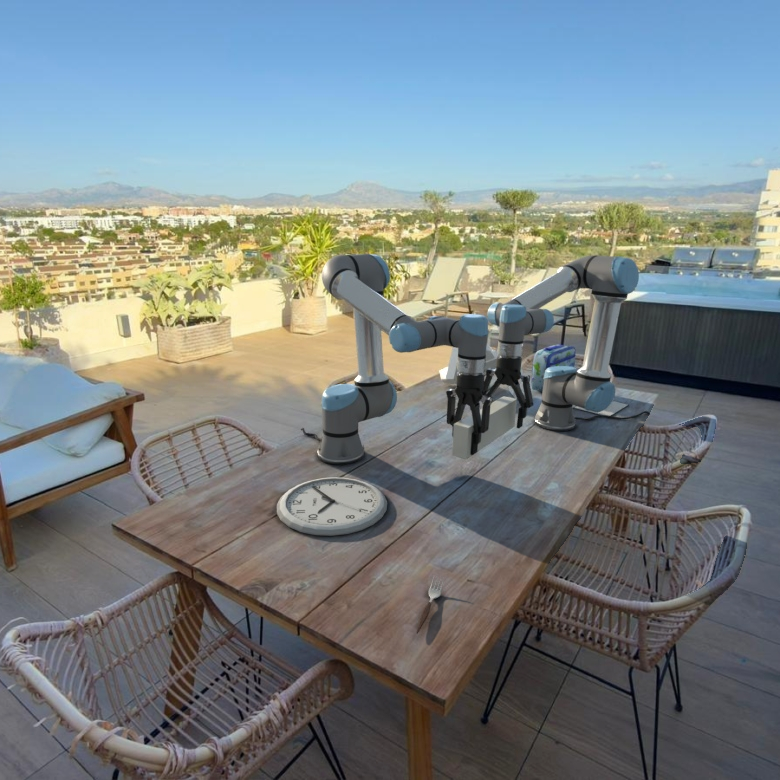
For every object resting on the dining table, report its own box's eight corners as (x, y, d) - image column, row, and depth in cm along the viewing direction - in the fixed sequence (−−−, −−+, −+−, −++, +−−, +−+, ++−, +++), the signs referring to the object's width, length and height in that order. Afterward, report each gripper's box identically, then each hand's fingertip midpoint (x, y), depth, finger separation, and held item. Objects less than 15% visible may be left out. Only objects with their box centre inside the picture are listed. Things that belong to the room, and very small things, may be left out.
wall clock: (392, 527, 129) (268, 531, 127) (391, 533, 130) (269, 537, 127) (383, 473, 158) (282, 475, 155) (383, 478, 158) (282, 480, 156)
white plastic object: (461, 429, 252) (437, 405, 227) (444, 352, 274) (420, 323, 250) (535, 404, 240) (518, 377, 215) (510, 326, 262) (492, 293, 237)
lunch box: (547, 397, 237) (552, 352, 231) (526, 391, 245) (531, 348, 238) (574, 386, 255) (580, 344, 249) (554, 381, 262) (559, 340, 256)
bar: (501, 423, 172) (503, 396, 170) (514, 426, 170) (517, 398, 167) (451, 455, 148) (453, 423, 145) (466, 459, 145) (468, 427, 142)
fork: (410, 633, 98) (410, 625, 97) (432, 582, 112) (433, 574, 112) (423, 637, 97) (423, 628, 96) (444, 585, 111) (445, 577, 111)
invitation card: (608, 416, 214) (573, 407, 224) (608, 416, 214) (573, 408, 224) (628, 404, 229) (594, 396, 238) (628, 405, 229) (594, 397, 238)
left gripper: (435, 369, 144) (432, 447, 151) (494, 381, 134) (487, 463, 141) (449, 364, 150) (445, 439, 157) (506, 375, 140) (499, 454, 147)
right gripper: (470, 352, 165) (466, 418, 171) (540, 364, 152) (532, 434, 158) (481, 348, 170) (477, 412, 177) (549, 359, 157) (542, 427, 164)
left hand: (465, 450), depth 149 cm, fingers closed on bar, 5 cm apart
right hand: (503, 423), depth 168 cm, fingers open, 10 cm apart
